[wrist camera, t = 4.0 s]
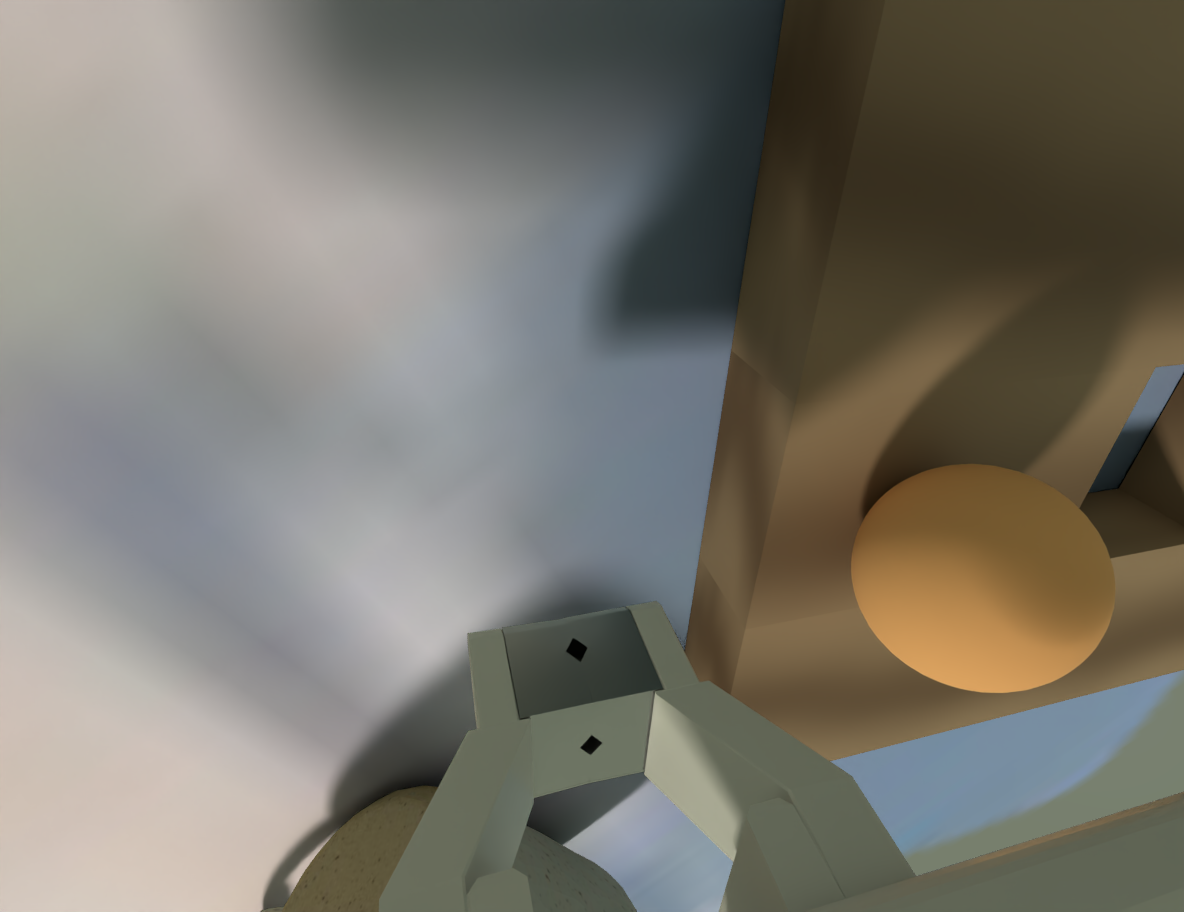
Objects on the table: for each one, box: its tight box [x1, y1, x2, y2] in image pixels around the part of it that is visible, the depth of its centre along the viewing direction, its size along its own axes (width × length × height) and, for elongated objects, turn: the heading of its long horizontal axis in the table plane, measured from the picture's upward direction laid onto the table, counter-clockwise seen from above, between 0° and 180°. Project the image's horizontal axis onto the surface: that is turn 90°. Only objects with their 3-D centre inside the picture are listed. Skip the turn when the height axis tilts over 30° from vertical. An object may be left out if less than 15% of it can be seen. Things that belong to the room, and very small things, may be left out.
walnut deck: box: [685, 0, 1184, 761], centre depth 15 cm, size 18×18×2 cm
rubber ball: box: [851, 464, 1116, 693], centre depth 11 cm, size 4×4×4 cm
